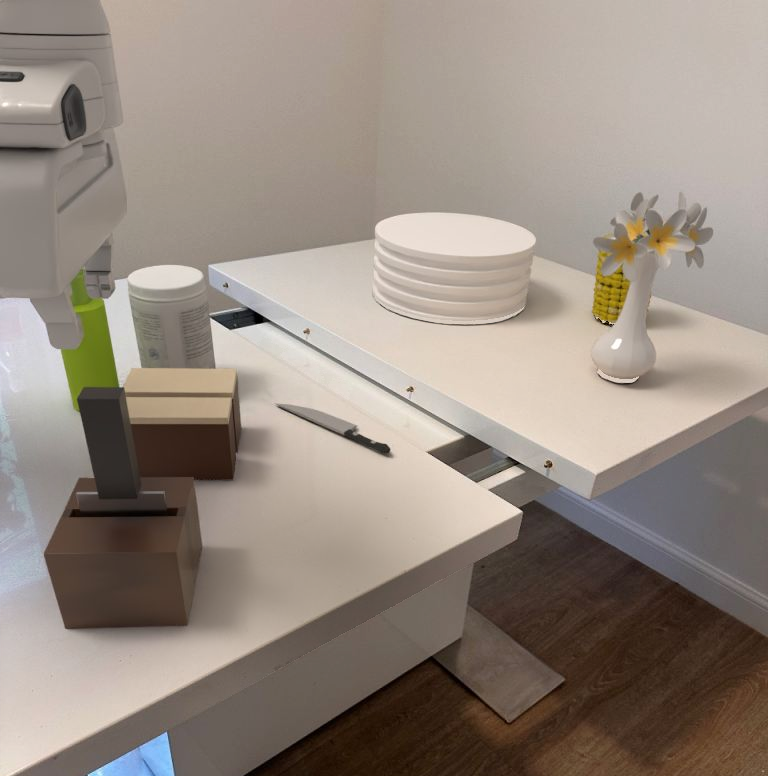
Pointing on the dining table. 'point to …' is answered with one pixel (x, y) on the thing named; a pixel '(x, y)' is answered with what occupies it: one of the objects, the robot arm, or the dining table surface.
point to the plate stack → (452, 265)
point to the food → (610, 291)
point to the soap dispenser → (89, 345)
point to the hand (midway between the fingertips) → (86, 318)
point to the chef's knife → (335, 425)
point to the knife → (113, 459)
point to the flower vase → (643, 276)
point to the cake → (187, 386)
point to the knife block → (127, 561)
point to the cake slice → (183, 437)
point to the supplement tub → (171, 317)
